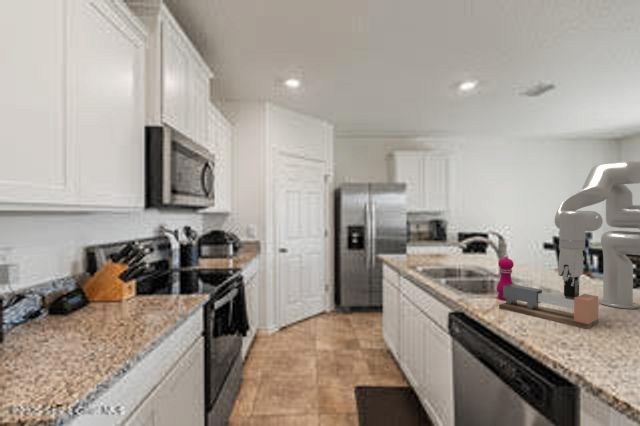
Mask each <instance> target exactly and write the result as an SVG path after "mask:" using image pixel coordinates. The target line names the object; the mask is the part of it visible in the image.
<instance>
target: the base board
mask: <svg viewBox="0 0 640 426" xmlns="http://www.w3.org/2000/svg"><path fill="white" fill-rule="evenodd" d="M498 306H499V307H498V309H502V310H506V311H510V312H514V313H517V314H522V315H527V316H531V317H535V318H540V319H544V320H548V321H552V322H556V323H561V324H564V325H569V326H573V327H577V328H582V329H590V328H592V327H593V326H596V325H598V324H599V320H600V319H599V318H598V319H597V320H595V321H593V322H591V323H589V324H585V323H580V322H576V321H574V312H573V313H572V312H569V311H565V310H564V311H562V310H558V309H554V308H550V307H544V306H540V305H538V308H537V309H534V310H530V309H527V302H522V301H517V304H513V305H508V304H506V302H503V303H501V304H499V305H498Z"/></svg>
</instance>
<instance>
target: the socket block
mask: <svg viewBox="0 0 640 426" xmlns="http://www.w3.org/2000/svg"><path fill="white" fill-rule="evenodd" d="M598 300H599V296H598V295H593V294H588V293H584V294H582V295H579V296H578V297H575V298H574V309H573V313H574V321H576V322H580V323H585V324H589V323H591V322H593V321H595V320H597V319H599V302H598Z"/></svg>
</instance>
